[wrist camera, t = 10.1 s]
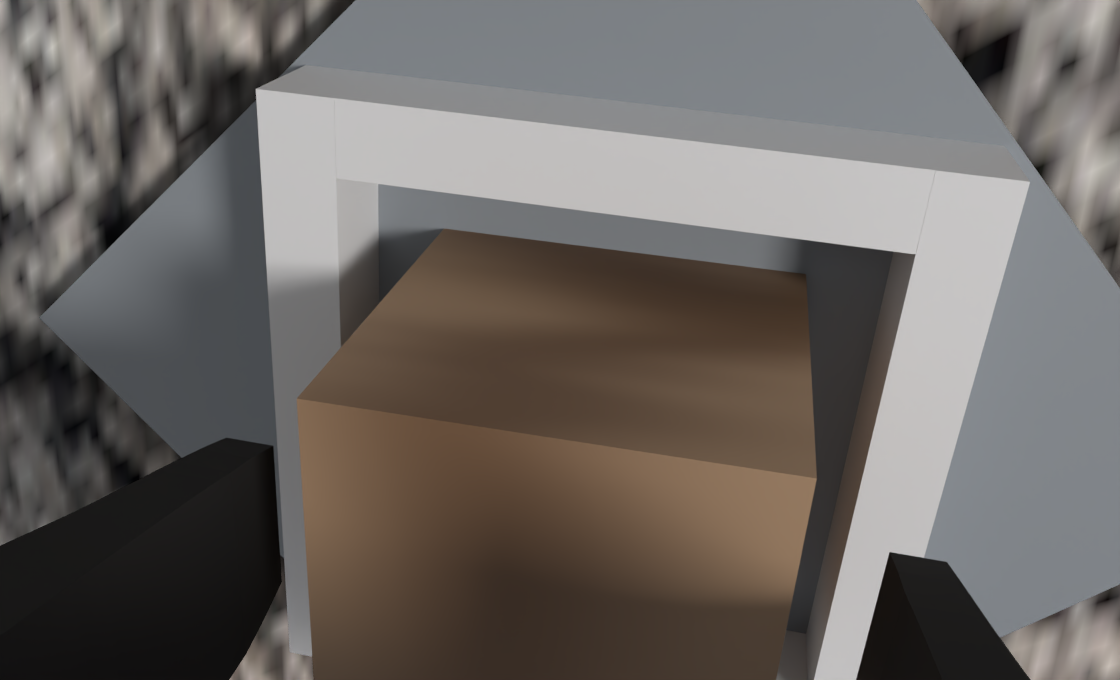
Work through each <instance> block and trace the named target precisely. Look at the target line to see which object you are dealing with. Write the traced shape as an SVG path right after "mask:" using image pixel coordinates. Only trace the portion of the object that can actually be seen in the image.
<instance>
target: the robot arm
mask: <svg viewBox="0 0 1120 680" xmlns="http://www.w3.org/2000/svg"><path fill="white" fill-rule="evenodd" d="M281 582H282V579H281V563H280V546H279V529H278V513H277V496H276V480H275V463H274V446H272V445H267V444H261V443H255V442H249V441H243V440H238V439H232V438H224V439H222V440H219V441H217V442H214V443H212V444H210V445H208V446H205V447H203V448H201V449H199V450H197V451H195V452H193V453H191V454H189V455H187V456H185V457H183V458H181V459H179V460H177V461H175V462H173V463H171V464H169V465H167V466H165V467H163V468H161V469H159V470H157V471H155V472H153V473H151V474H149V475H147V476H145V477H143V478H141V479H139V480H137V481H135V482H133V483H131V484H129V485H127V486H125V487H123V488H121V489H119V490H117V491H115V492H113V493H111V494H109V495H107V496H105V497H103V498H101V499H99V500H97V501H95V502H93V503H91V504H89V505H87V506H85V507H83V508H81V509H79V510H77V511H75V512H73V513H71V514H69V515H67V516H65V517H62V518H60V519H58V520H56V521H54V522H51V523H49V524H47V525H45V526H43V527H40V528H38V529H36V530H34V531H32V532H30V533H27V534H25V535H23V536H21V537H19V538H16V539H14V540H12V541H10V542H8V543H5V544H3V545H1V546H0V680H229V679H230V678H231V676H232V675H233V673H234V672H235V670H236V668H237V667H238V665H239V664H240V662H241V661H242V659H243V658H244V656H245V655H246V653H247V651H248V649H249V647H250V645H251V643H252V641H253V639H254V637H255V636H256V634H257V632H258V630H259V628H260V626H261V624H262V622H263V620H264V618H265V616H266V614H267V612H268V609H269V607H270V605H271V603H272V601H273V599H274V597H275V595H276V593H277V591H278V588H279V586H280V584H281ZM856 680H1030V679H1029V677H1028V676H1027V675H1026V673H1025V672H1024V671H1023V669H1022V668H1021V666H1020V665H1019V664H1018V662H1017V661H1016V660H1015V658H1014V657H1013V655H1012V654H1011V653H1010V651H1009V650H1008V648H1007V647H1006V646H1005V644H1004V643H1003V641H1002V640H1001V638H1000V637H999V636H998V634H997V633H996V631H995V630H994V629H993V627H992V626H991V624H990V623H989V621H988V620H987V618H986V617H985V616H984V614H983V613H982V611H981V610H980V608H979V607H978V605H977V604H976V603H975V601H974V600H973V598H972V597H971V595H970V594H969V592H968V591H967V589H966V588H965V587H964V585H963V584H962V582H961V581H960V579H959V578H958V577H957V575H956V574H955V572H954V571H953V570H952V568H951V567H950V565H949V564H948V563H947V562H945V561H939V560H933V559H927V558H922V557H916V556H910V555H904V554H898V553H893V552H889V556H888V560H887V564H886V567H885V571H884V575H883V579H882V583H881V587H880V590H879V594H878V598H877V602H876V606H875V609H874V613H873V617H872V621H871V625H870V628H869V632H868V636H867V640H866V644H865V648H864V651H863V655H862V659H861V663H860V667H859V670H858V674H857V678H856Z"/></svg>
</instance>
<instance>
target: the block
mask: <svg viewBox="0 0 1120 680" xmlns="http://www.w3.org/2000/svg"><path fill="white" fill-rule="evenodd" d="M297 414H298V430H299V447H300V463H301V479H302V496H303V512H304V529H305V545H306V561H307V578H308V594H309V611H310V627H311V643H312V660H313V676H314V680H776V677H777V672H778V668H779V663H780V658H781V653H782V648H783V643H784V638H785V633H786V628H787V623H788V618H789V613H790V608H791V603H792V599H793V594H794V589H795V584H796V579H797V574H798V569H799V564H800V559H801V554H802V549H803V544H804V539H805V534H806V529H807V525H808V520H809V515H810V510H811V505H812V500H813V495H814V490H815V485H816V480H817V472H816V453H815V434H814V415H813V396H812V377H811V358H810V339H809V320H808V301H807V282H806V274H801V273H793V272H785V271H777V270H770V269H762V268H754V267H746V266H738V265H730V264H722V263H714V262H706V261H698V260H690V259H682V258H674V257H666V256H659V255H651V254H643V253H635V252H627V251H619V250H611V249H603V248H595V247H587V246H579V245H571V244H563V243H555V242H547V241H540V240H532V239H524V238H516V237H508V236H500V235H492V234H484V233H476V232H468V231H460V230H452V229H443V230H442V232H441V233H440V234H439V235H438V236H437V237H436V239H435V240H434V241H433V242H432V243H431V244H430V245H429V247H428V248H427V249H426V250H425V251H424V252H423V254H422V255H421V256H420V257H419V258H418V259H417V260H416V262H415V263H414V264H413V265H412V266H411V267H410V268H409V270H408V271H407V272H406V273H405V274H404V275H403V277H402V278H401V279H400V280H399V281H398V282H397V283H396V285H395V286H394V287H393V288H392V289H391V290H390V292H389V293H388V294H387V295H386V296H385V297H384V298H383V300H382V301H381V302H380V303H379V304H378V305H377V306H376V308H375V309H374V310H373V311H372V312H371V313H370V315H369V316H368V317H367V318H366V319H365V320H364V321H363V323H362V324H361V325H360V326H359V327H358V328H357V330H356V331H355V332H354V333H353V334H352V335H351V336H350V338H349V339H348V340H347V341H346V342H345V343H344V344H343V346H342V347H341V348H340V349H339V350H338V351H337V353H336V354H335V355H334V356H333V357H332V358H331V359H330V361H329V362H328V363H327V364H326V365H325V366H324V368H323V369H322V370H321V371H320V372H319V373H318V374H317V376H316V377H315V378H314V379H313V380H312V381H311V382H310V384H309V385H308V386H307V387H306V388H305V389H304V391H303V392H302V393H301V394H300V395H299V396H298V397H297Z"/></svg>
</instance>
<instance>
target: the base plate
mask: <svg viewBox="0 0 1120 680" xmlns="http://www.w3.org/2000/svg"><path fill="white" fill-rule="evenodd" d="M443 229H452V230H460V231H468V232H476V233H484V234H492V235H500V236H508V237H516V238H524V239H532V240H540V241H547V242H555V243H563V244H571V245H579V246H587V247H595V248H603V249H611V250H619V251H627V252H635V253H643V254H651V255H659V256H666V257H674V258H682V259H690V260H698V261H706V262H714V263H722V264H730V265H738V266H746V267H754V268H762V269H770V270H777V271H785V272H793V273H801V274H806V282H807V301H808V320H809V339H810V358H811V377H812V396H813V415H814V434H815V453H816V472H817V480H816V485H815V490H814V495H813V500H812V505H811V510H810V515H809V520H808V525H807V529H806V534H805V539H804V544H803V549H802V554H801V559H800V564H799V569H798V574H797V579H796V584H795V589H794V594H793V599H792V603H791V608H790V613H789V618H788V623H787V628H786V633H785V638H784V643H783V648H782V653H781V658H780V663H779V668H778V672H777V677H776V680H856V678H857V674H858V670H859V667H860V663H861V659H862V655H863V651H864V648H865V644H866V640H867V636H868V632H869V628H870V625H871V621H872V617H873V613H874V609H875V606H876V602H877V598H878V594H879V590H880V587H881V583H882V579H883V575H884V571H885V567H886V564H887V560H888V556H889V552H893V553H898V554H904V555H910V556H916V557H922V558H927V559H933V560H939V561H945V562H947V563H948V564H949V565H950V567H951V568H952V570H953V571H954V572H955V574H956V575H957V577H958V578H959V579H960V581H961V582H962V584H963V585H964V587H965V588H966V589H967V591H968V592H969V594H970V595H971V597H972V598H973V600H974V601H975V603H976V604H977V605H978V607H979V608H980V610H981V611H982V613H983V614H984V616H985V617H986V618H987V620H988V621H989V623H990V624H991V626H992V627H993V629H994V630H995V631H996V633H997V634H998V636H999V637H1002V636H1005V635H1007V634H1009V633H1011V632H1014V631H1016V630H1018V629H1020V628H1023V627H1025V626H1027V625H1029V624H1032V623H1034V622H1036V621H1038V620H1041V619H1043V618H1045V617H1047V616H1049V615H1052V614H1054V613H1056V612H1058V611H1061V610H1063V609H1065V608H1067V607H1070V606H1072V605H1074V604H1076V603H1079V602H1081V601H1083V600H1085V599H1088V598H1090V597H1092V596H1094V595H1097V594H1099V593H1101V592H1103V591H1106V590H1108V589H1110V588H1112V587H1115V586H1117V585H1119V584H1120V288H1119V286H1118V285H1117V284H1116V282H1115V281H1114V279H1113V278H1112V276H1111V275H1110V274H1109V272H1108V271H1107V269H1106V268H1105V267H1104V265H1103V264H1102V262H1101V261H1100V260H1099V258H1098V257H1097V255H1096V254H1095V252H1094V251H1093V250H1092V248H1091V247H1090V245H1089V244H1088V243H1087V241H1086V240H1085V238H1084V237H1083V235H1082V234H1081V233H1080V231H1079V230H1078V228H1077V227H1076V226H1075V224H1074V223H1073V221H1072V220H1071V218H1070V217H1069V216H1068V214H1067V213H1066V211H1065V210H1064V209H1063V207H1062V206H1061V204H1060V203H1059V201H1058V200H1057V199H1056V197H1055V196H1054V194H1053V193H1052V192H1051V190H1050V189H1049V187H1048V186H1047V184H1046V183H1045V182H1044V180H1043V179H1042V177H1041V176H1040V175H1039V173H1038V172H1037V170H1036V169H1035V167H1034V166H1033V165H1032V163H1031V162H1030V160H1029V159H1028V158H1027V156H1026V155H1025V153H1024V152H1023V150H1022V149H1021V148H1020V146H1019V145H1018V143H1017V142H1016V141H1015V139H1014V138H1013V136H1012V135H1011V134H1010V132H1009V131H1008V129H1007V128H1006V126H1005V125H1004V124H1003V122H1002V121H1001V119H1000V118H999V117H998V115H997V114H996V112H995V111H994V109H993V108H992V107H991V105H990V104H989V102H988V101H987V100H986V98H985V97H984V95H983V94H982V92H981V91H980V90H979V88H978V87H977V85H976V84H975V83H974V81H973V80H972V78H971V77H970V75H969V74H968V73H967V71H966V70H965V68H964V67H963V66H962V64H961V63H960V61H959V60H958V58H957V57H956V56H955V54H954V53H953V51H952V50H951V49H950V47H949V46H948V44H947V43H946V41H945V40H944V39H943V37H942V36H941V34H940V33H939V32H938V30H937V29H936V27H935V26H934V25H933V23H932V22H931V20H930V19H929V17H928V16H927V15H926V13H925V12H924V10H923V9H922V8H921V6H920V5H919V3H918V2H917V0H355V1H354V2H353V3H352V4H351V5H350V6H349V7H348V8H347V9H346V10H345V11H344V12H343V13H342V14H341V15H340V16H339V17H338V18H337V19H336V20H335V21H334V22H333V23H332V24H331V25H330V26H329V27H328V28H327V29H326V30H325V31H324V32H323V33H322V34H321V35H320V36H319V37H318V38H317V39H316V40H315V41H314V42H313V43H312V44H311V45H310V46H309V47H308V48H307V49H306V50H305V51H304V52H303V53H302V54H301V55H300V56H299V57H298V58H297V59H296V60H295V61H294V62H293V63H292V64H291V65H290V66H289V67H288V68H287V70H286V71H285V72H284V73H283V74H282V75H281V76H280V77H279V78H278V79H275V80H273V81H271V82H269V83H267V84H265V85H263V86H261V87H259V88H256V101H255V102H254V103H253V104H252V105H251V106H250V107H249V108H248V109H247V110H246V111H245V112H244V113H243V114H242V115H241V116H240V117H239V118H238V119H237V120H236V121H235V122H234V123H233V124H232V125H231V126H230V127H229V128H228V129H227V130H226V131H225V132H224V133H223V134H222V135H221V136H220V137H219V138H218V139H217V140H216V141H215V142H214V143H213V144H212V145H211V146H210V147H209V148H208V149H207V150H206V151H205V152H204V153H203V154H202V155H201V156H200V157H199V158H198V159H197V160H196V161H195V162H194V163H193V164H192V165H191V166H190V167H189V168H188V169H187V170H186V171H185V172H184V173H183V174H182V175H181V176H180V177H179V178H178V179H177V180H176V181H175V182H174V183H173V184H172V185H171V186H170V187H169V188H168V189H167V190H166V191H165V192H164V193H163V194H162V195H161V196H160V197H159V198H158V199H157V200H156V201H155V202H154V203H153V204H152V205H151V206H150V207H149V208H148V209H147V210H146V211H145V212H144V213H143V214H142V215H141V216H140V217H139V218H138V219H137V220H136V221H135V222H134V223H133V224H132V225H131V226H130V227H129V228H128V229H127V230H126V231H125V232H124V233H123V234H122V235H121V236H120V237H119V238H118V239H117V240H116V241H115V242H114V243H113V244H112V245H111V246H110V247H109V248H108V249H107V250H106V251H105V252H104V253H103V254H102V255H101V256H100V257H99V258H98V259H97V260H96V261H95V262H94V263H93V264H92V265H91V266H90V267H89V268H88V269H87V270H86V271H85V272H84V273H83V274H82V275H81V276H80V277H79V278H78V279H77V280H76V281H75V282H74V283H73V284H72V285H71V286H70V287H69V288H68V289H67V290H66V291H65V292H64V293H63V294H62V295H61V296H60V297H59V298H58V299H57V300H56V301H55V302H54V303H53V304H52V305H51V306H50V307H49V308H48V309H47V310H46V311H45V312H44V313H43V314H42V315H41V316H40V317H39V318H40V319H41V320H42V321H43V322H44V323H45V324H46V325H47V326H48V327H49V328H50V329H51V330H52V331H53V332H54V333H55V334H56V335H57V336H58V337H59V338H60V339H61V340H62V341H63V342H64V343H65V344H66V345H67V346H68V347H69V348H70V349H71V350H72V351H73V352H74V353H75V354H76V355H77V356H79V357H80V358H81V359H82V360H83V361H84V362H85V363H86V364H87V365H88V366H89V367H90V368H91V369H92V370H93V371H94V372H95V373H96V374H97V375H98V376H99V377H100V378H101V379H102V380H103V381H104V382H105V383H106V384H107V385H108V386H109V387H110V388H111V389H112V390H113V391H114V392H115V393H116V394H117V395H118V396H119V397H120V398H121V399H122V400H123V401H124V402H125V403H126V404H127V405H128V406H129V407H130V408H131V409H132V410H133V411H134V412H135V413H136V414H137V415H138V416H140V417H141V418H142V419H143V420H144V421H145V422H146V423H147V424H148V425H149V426H150V427H151V428H152V429H153V430H154V431H155V432H156V433H157V434H158V435H159V436H160V437H161V438H162V439H163V440H164V441H165V442H166V443H167V444H168V445H169V446H170V447H171V448H172V449H173V450H174V451H175V452H176V453H177V454H178V455H179V456H180V457H181V458H183V457H185V456H187V455H189V454H191V453H193V452H195V451H197V450H199V449H201V448H203V447H205V446H208V445H210V444H212V443H214V442H217V441H219V440H222V439H224V438H232V439H238V440H243V441H249V442H255V443H261V444H267V445H272V446H274V463H275V480H276V496H277V513H278V529H279V546H280V555H281V556H282V557H283V558H284V564H285V580H286V597H287V613H288V630H289V646H290V652H292V653H297V654H302V655H307V656H312V643H311V627H310V611H309V594H308V578H307V561H306V545H305V529H304V512H303V496H302V479H301V463H300V447H299V430H298V414H297V397H298V396H299V395H300V394H301V393H302V392H303V391H304V389H305V388H306V387H307V386H308V385H309V384H310V382H311V381H312V380H313V379H314V378H315V377H316V376H317V374H318V373H319V372H320V371H321V370H322V369H323V368H324V366H325V365H326V364H327V363H328V362H329V361H330V359H331V358H332V357H333V356H334V355H335V354H336V353H337V351H338V350H339V349H340V348H341V347H342V346H343V344H344V343H345V342H346V341H347V340H348V339H349V338H350V336H351V335H352V334H353V333H354V332H355V331H356V330H357V328H358V327H359V326H360V325H361V324H362V323H363V321H364V320H365V319H366V318H367V317H368V316H369V315H370V313H371V312H372V311H373V310H374V309H375V308H376V306H377V305H378V304H379V303H380V302H381V301H382V300H383V298H384V297H385V296H386V295H387V294H388V293H389V292H390V290H391V289H392V288H393V287H394V286H395V285H396V283H397V282H398V281H399V280H400V279H401V278H402V277H403V275H404V274H405V273H406V272H407V271H408V270H409V268H410V267H411V266H412V265H413V264H414V263H415V262H416V260H417V259H418V258H419V257H420V256H421V255H422V254H423V252H424V251H425V250H426V249H427V248H428V247H429V245H430V244H431V243H432V242H433V241H434V240H435V239H436V237H437V236H438V235H439V234H440V233H441V232H442V230H443Z"/></svg>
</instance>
